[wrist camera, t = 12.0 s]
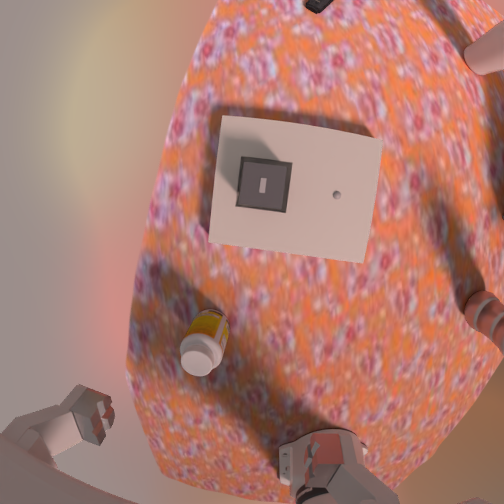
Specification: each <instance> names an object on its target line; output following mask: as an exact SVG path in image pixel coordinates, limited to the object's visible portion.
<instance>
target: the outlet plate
mask: <svg viewBox="0 0 504 504" xmlns="http://www.w3.org/2000/svg"><path fill="white" fill-rule="evenodd" d="M382 144H383V140H380V139H376V138H372V137H368V136H363V135H359V134H354V133H349V132H344V131H339V130H334V129H329V128H323V127H317V126H311V125H305V124H298V123H291V122H284V121H276V120H268V119H259V118H249V117H238V116H225V115H222V121H221V129H220V137H219V145H218V153H217V162H216V171H215V180H214V189H213V199H212V209H211V219H210V230H209V241H208V242H210V243H217V244H225V245H232V246H240V247H247V248H254V249H262V250H269V251H276V252H284V253H291V254H298V255H306V256H313V257H320V258H328V259H335V260H342V261H349V262H357V263H363V262H364V257H365V252H366V247H367V242H368V237H369V232H370V227H371V221H372V215H373V210H374V204H375V197H376V191H377V184H378V177H379V169H380V161H381V153H382ZM244 162H252V163H260V164H268V165H276V166H284V167H287V171H286V179H285V187H284V194H283V202H282V209H276V208H268V207H261V206H253V205H245V204H239V200H240V191H241V183H242V174H243V166H244Z"/></svg>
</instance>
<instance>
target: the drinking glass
mask: <svg viewBox="0 0 504 504" xmlns="http://www.w3.org/2000/svg"><path fill="white" fill-rule="evenodd" d="M464 59H465V61H466V63H467V65H468V67H469V68H470V69H471V70H472V71H473V72H474V73H476V74H478V75H486V74H489V73H492V72H497V71H501V70H504V20H503V21H501V22H500V23H498V24H497V25H495V26H494V27H493V28H491V29H490V30H489V31H488V32H486V33H485V34H484V35H483V36H481V37H480V38H479V39H477V40H476V41H475V42H473V43H472V44H471V45H469V46H467V47H466V48H465V50H464Z"/></svg>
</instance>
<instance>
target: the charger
mask: <svg viewBox="0 0 504 504" xmlns="http://www.w3.org/2000/svg"><path fill="white" fill-rule="evenodd" d="M286 171H287V167H284V166H276V165H268V164H260V163H252V162H244V166H243V174H242V183H241V191H240V200H239V204H245V205H253V206H261V207H268V208H276V209H282V202H283V194H284V187H285V179H286Z"/></svg>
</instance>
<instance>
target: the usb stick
mask: <svg viewBox="0 0 504 504" xmlns="http://www.w3.org/2000/svg"><path fill="white" fill-rule="evenodd" d="M332 1H333V0H309V1H308V2H307V3H306V8H307V9H309V10H310V11H312V12H314V13H316V14H317V13H321V12H322V11H323V10H324V9H325V8H326V7H327V6H328V5H329V4H330V3H331V2H332Z"/></svg>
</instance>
